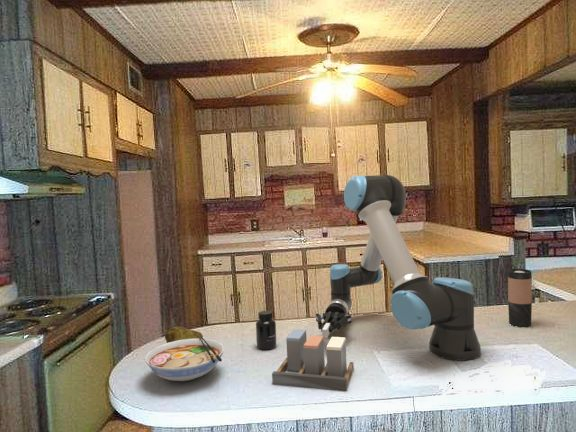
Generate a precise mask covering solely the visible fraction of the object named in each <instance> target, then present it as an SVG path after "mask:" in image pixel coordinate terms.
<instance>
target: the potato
mask: <svg viewBox="0 0 576 432" xmlns="http://www.w3.org/2000/svg"><path fill="white" fill-rule="evenodd" d="M199 334H200V335H201V336H202V338H203V339H204V336H203V334H202V333H201V332H200V331H198V330H194V329H193V330H192V329H187V328H184V326H183V327H182V326H173V327H171V328H169V329H167V330H166V332H165V334H164V339H165V341H166V343H169V342H173V341H177V340H184V339H200V338H201V336H200V335H199ZM198 335H199V337H200V338H199V337H198ZM202 338H201V339H202Z"/></svg>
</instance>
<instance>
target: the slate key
mask: <svg viewBox="0 0 576 432" xmlns="http://www.w3.org/2000/svg"><path fill="white" fill-rule="evenodd" d="M307 339H308V338H307V329H300V328H294V329H292V330H291V332H290V333H289V334H288V335H287V336H286V340H285V341H286V358H287V364H288V368H287V371H291V372H294V371H295V372H299V371H300V370H301V368H302V367H303V365H304V344H305V342H306V341H307Z"/></svg>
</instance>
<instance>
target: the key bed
mask: <svg viewBox="0 0 576 432" xmlns="http://www.w3.org/2000/svg"><path fill="white" fill-rule="evenodd" d="M347 366H348V367H347V371H346V374H345V376H344V377H336V376H328V373H327V363H325V368H324V370H323V372H322V374H321V375H312V374H305V367H304V365H303V367H302V368H301V370H300V371H298V372H287V370H288V364H287V357H286V358H284V360H283V362H282V363H281V364H280V366H279V368H277V370H275V371H272V373H271V380H272V381H271V382H272V383H271V384H272V385H277V386H291V387H301V388H309V389H310V388H311V389H321V390H333V391H343V392H346V391H348V390H347V389H348V387H349V384H350V381H351V378H352V375H353V372H354V367H355V366H354V362H353V361H350V362H349V363H348V365H347Z"/></svg>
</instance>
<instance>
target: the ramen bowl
mask: <svg viewBox="0 0 576 432" xmlns="http://www.w3.org/2000/svg"><path fill="white" fill-rule="evenodd" d="M199 335H200V334H199ZM199 335H198V337H199ZM200 336H201V335H200ZM199 338H200V337H199ZM201 338H202V336H201ZM201 338H200V339H184V340H177V341H173V342H169V343H167V342H166V343H163V344H160V345H158V346H156V347H153V348H152V349H151V350H150V351H147V353H146V354H145V357H144V359H143V360H144V362H145V363H146V365H147V366H148V367H149V368H150V369H151V371H152V372H153V373H154V374H155V375H156V376H157V377H159V378H162V379H166V380H168V381H173V382H174V381H175V382H176V381H177V382H189V381H192V380H195V379H197V378H200V377H202V376H204V375H206V374H208V373H209V372H211V371H212V370H213V369H214V367H215V366H216V365H217V364H218V363H219V362H222V361H223V359H222V356H223V354H224V350H225V349H224V344H223V343H220V342H219V341H218V340H214V339H209V338H204V337H203V338H202V339H201Z"/></svg>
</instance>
